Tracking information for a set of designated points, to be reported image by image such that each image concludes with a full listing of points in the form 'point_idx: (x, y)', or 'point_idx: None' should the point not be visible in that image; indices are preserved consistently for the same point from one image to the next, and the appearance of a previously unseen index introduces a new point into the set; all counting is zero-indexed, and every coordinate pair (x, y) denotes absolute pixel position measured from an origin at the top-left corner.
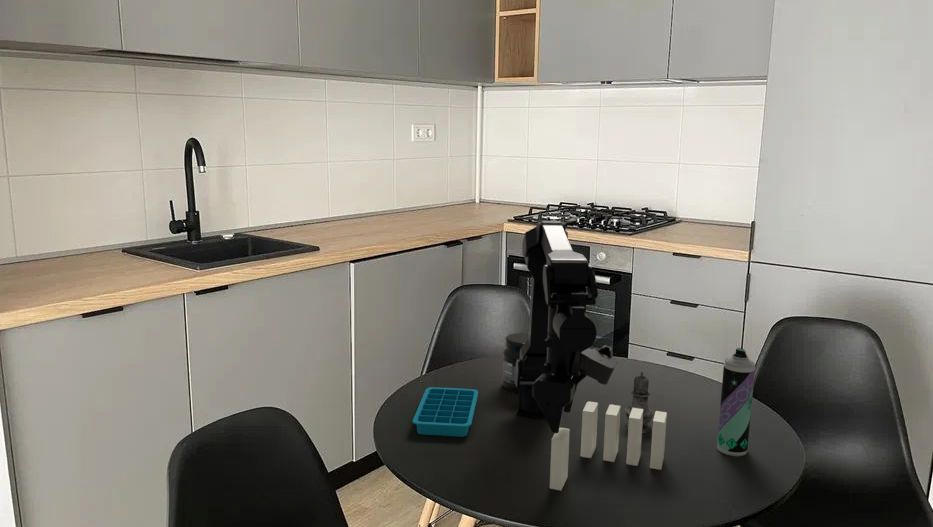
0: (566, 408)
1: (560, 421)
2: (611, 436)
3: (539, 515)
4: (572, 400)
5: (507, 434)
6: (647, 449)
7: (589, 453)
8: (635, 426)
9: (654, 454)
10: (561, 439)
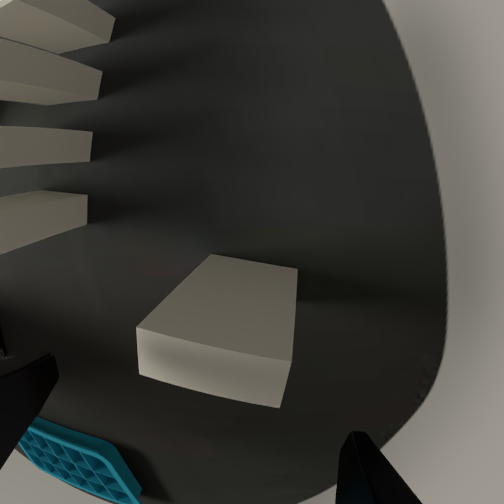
0: (45, 379)
1: (409, 489)
2: (40, 140)
3: (432, 313)
4: (2, 380)
5: (67, 380)
6: None
7: (79, 201)
8: (19, 58)
9: (88, 21)
10: (279, 369)
